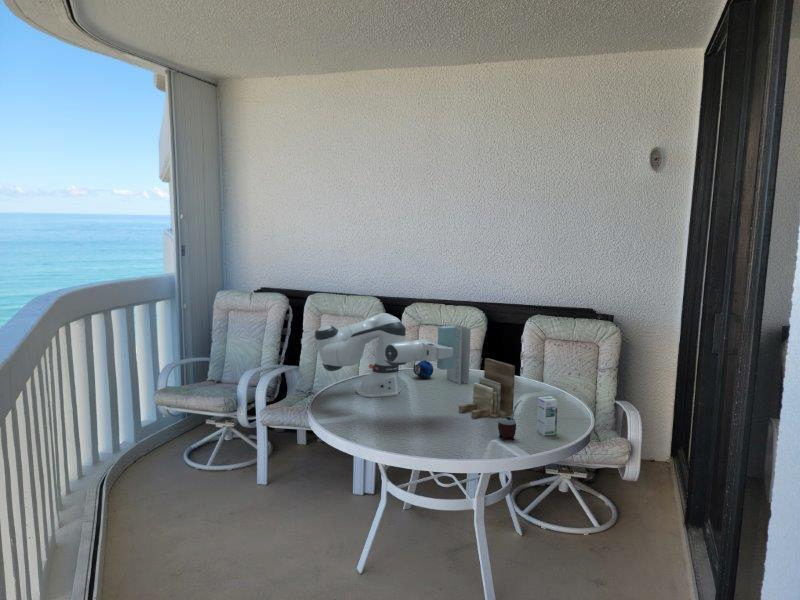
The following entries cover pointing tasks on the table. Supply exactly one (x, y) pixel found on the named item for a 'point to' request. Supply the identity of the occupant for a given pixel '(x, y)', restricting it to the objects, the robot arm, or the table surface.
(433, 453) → the table surface
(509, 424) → the mate gourd
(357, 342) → the robot arm
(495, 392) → the offcut stack
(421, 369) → the bomb
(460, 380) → the brochure
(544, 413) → the syrup box
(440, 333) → the light blue tall block
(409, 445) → the table surface
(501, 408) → the offcut rack
